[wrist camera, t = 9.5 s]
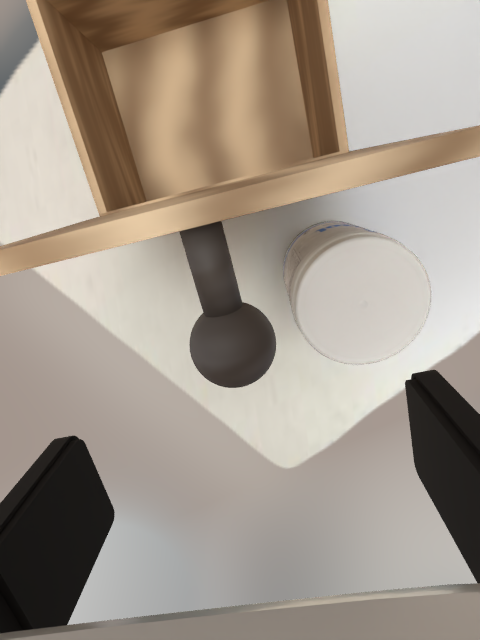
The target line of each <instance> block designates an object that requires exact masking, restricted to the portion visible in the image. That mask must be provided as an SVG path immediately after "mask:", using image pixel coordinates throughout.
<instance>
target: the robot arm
mask: <svg viewBox="0 0 480 640" xmlns="http://www.w3.org/2000/svg"><path fill="white" fill-rule="evenodd" d="M405 387H406V396H407V404H408V413H409V421H410V430H411V439H412V447H413V455H414V463H415V467H416V470H417V473H418V476H419V478H420V479H421V481H422V483H423V484H424V487H425V489H426V490H427V492H428V494H429V496H430V498H431V499H432V501H433V503H434V505H435V507H436V508H437V510H438V512H439V514H440V516H441V518H442V519H443V521H444V523H445V524H446V527H447V528H448V530H449V532H450V534H451V535H452V537H453V539H454V541H455V543H456V545H457V546H458V548H459V550H460V552H461V554H462V555H463V557H464V559H465V561H466V563H467V564H468V566H469V568H470V570H471V572H472V574H473V575H474V577H475V579H476V581H477V583H478V584H457V585H456V584H454V585H439V586H428V587H417V588H405V589H394V590H383V591H372V592H361V593H351V594H342V595H333V596H323V597H315V598H305V599H295V600H286V601H277V602H267V603H257V604H249V605H239V606H230V607H221V608H212V609H204V610H195V611H185V612H177V613H168V614H159V615H150V616H142V617H134V618H124V619H115V620H107V621H99V622H91V623H82V624H73V625H67V624H68V622H69V620H70V617H71V615H72V613H73V611H74V608H75V606H76V604H77V601H78V599H79V597H80V595H81V593H82V591H83V588H84V586H85V584H86V582H87V579H88V577H89V575H90V573H91V570H92V568H93V566H94V564H95V561H96V559H97V557H98V555H99V552H100V550H101V548H102V546H103V544H104V541H105V539H106V537H107V535H108V533H109V530H110V528H111V526H112V523H113V521H114V509H113V506H112V504H111V501H110V499H109V497H108V495H107V492H106V490H105V488H104V485H103V483H102V481H101V479H100V477H99V474H98V472H97V470H96V467H95V465H94V463H93V460H92V458H91V456H90V454H89V451H88V449H87V447H86V444H85V443H84V441H83V440H81V439H79V438H78V437H76V436H69V437H63V438H58V439H54V440H53V441H52V442H51V443H50V445H49V446H48V447H47V448H46V450H45V451H44V452H43V453H42V454H41V455H40V457H39V458H38V459H37V460H36V461H35V463H34V464H33V465H32V466H31V468H30V469H29V470H28V471H27V472H26V473H25V474H24V476H23V477H22V478H21V479H20V481H19V482H18V483H17V484H16V485H15V486H14V488H13V489H12V490H11V491H10V492H9V494H8V495H7V496H6V497H5V498H4V500H3V501H2V502H1V503H0V640H480V414H479V413H478V412H476V411H475V409H474V408H473V407H472V406H471V405H470V404H469V403H468V402H467V401H466V400H465V399H464V398H463V397H462V396H461V395H460V394H459V393H458V392H457V391H456V390H455V389H454V388H453V387H452V386H451V385H450V384H449V383H448V382H447V381H446V380H445V379H444V378H443V377H442V376H441V375H440V374H439V373H438V372H437V371H436V370H430V371H424V372H419V373H413V374H412V377H411V380H406V382H405Z"/></svg>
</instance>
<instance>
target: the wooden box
mask: <svg viewBox="0 0 480 640" xmlns="http://www.w3.org/2000/svg"><path fill="white" fill-rule="evenodd" d="M26 2H27V5H28V8H29V10H30V13H31V16H32V19H33V22H34V25H35V28H36V31H37V34H38V37H39V40H40V43H41V46H42V49H43V51H44V54H45V57H46V60H47V63H48V66H49V69H50V72H51V75H52V78H53V81H54V84H55V87H56V89H57V92H58V95H59V98H60V101H61V104H62V107H63V110H64V113H65V116H66V119H67V122H68V125H69V128H70V130H71V133H72V136H73V139H74V142H75V145H76V148H77V151H78V154H79V157H80V160H81V163H82V166H83V168H84V171H85V174H86V177H87V180H88V183H89V186H90V189H91V192H92V195H93V198H94V201H95V204H96V206H97V209H98V212H99V215H100V217H101V216H104V215H108V214H112V213H116V212H120V211H124V210H127V209H131V208H135V207H139V206H143V205H147V204H151V203H154V202H158V201H162V200H166V199H170V198H174V197H177V196H181V195H185V194H189V193H193V192H197V191H201V190H204V189H208V188H212V187H216V186H220V185H224V184H227V183H231V182H235V181H239V180H243V179H247V178H250V177H254V176H258V175H262V174H266V173H270V172H274V171H277V170H281V169H285V168H289V167H293V166H297V165H300V164H304V163H308V162H312V161H316V160H320V159H324V158H327V157H331V156H335V155H339V154H343V153H347V152H349V148H348V141H347V134H346V127H345V120H344V112H343V105H342V98H341V91H340V84H339V77H338V70H337V63H336V56H335V49H334V42H333V35H332V28H331V21H330V14H329V7H328V0H26Z"/></svg>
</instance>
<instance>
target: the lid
mask: <svg viewBox="0 0 480 640" xmlns="http://www.w3.org/2000/svg"><path fill="white" fill-rule="evenodd" d="M479 156H480V125H479V126H474V127H469V128H464V129H459V130H454V131H449V132H444V133H439V134H434V135H429V136H424V137H419V138H414V139H409V140H404V141H399V142H394V143H389V144H384V145H379V146H374V147H369V148H364V149H359V150H354V151H350V152H347V153H343V154H339V155H335V156H331V157H327V158H324V159H320V160H316V161H312V162H308V163H304V164H300V165H297V166H293V167H289V168H285V169H281V170H277V171H274V172H270V173H266V174H262V175H258V176H254V177H250V178H247V179H243V180H239V181H235V182H231V183H227V184H224V185H220V186H216V187H212V188H208V189H204V190H201V191H197V192H193V193H189V194H185V195H181V196H177V197H174V198H170V199H166V200H162V201H158V202H154V203H151V204H147V205H143V206H139V207H135V208H131V209H127V210H124V211H120V212H116V213H112V214H108V215H104V216H101V217H97V218H93V219H90V220H86V221H83V222H80V223H76V224H73V225H70V226H67V227H63V228H60V229H57V230H53V231H50V232H47V233H43V234H40V235H37V236H33V237H30V238H27V239H23V240H20V241H17V242H13V243H10V244H7V245H3V246H0V276H2V275H5V274H10V273H14V272H18V271H22V270H26V269H30V268H34V267H38V266H42V265H46V264H50V263H54V262H58V261H62V260H66V259H70V258H74V257H78V256H82V255H86V254H90V253H94V252H98V251H102V250H106V249H110V248H114V247H118V246H122V245H126V244H130V243H134V242H138V241H142V240H146V239H150V238H154V237H158V236H162V235H166V234H170V233H174V232H178V231H179V232H180V235H181V238H182V242H183V245H184V248H185V252H186V255H187V259H188V262H189V265H190V269H191V272H192V275H193V279H194V282H195V285H196V289H197V292H198V295H199V299H200V302H201V306H202V309H203V312H204V313H203V314H202V315H201V316H200V317H199V318H198V320H197V321H196V323H195V325H194V327H193V329H192V332H191V337H190V353H191V357H192V360H193V362H194V364H195V366H196V368H197V369H198V371H199V372H200V373H201V374H202V375H203V376H204V377H205V378H206V379H208V380H209V381H211V382H212V383H214V384H217V385H219V386H223V387H228V388H237V387H243V386H247V385H249V384H251V383H253V382H255V381H257V380H258V379H259V378H261V377H262V376H263V375H264V374H265V373H266V371H267V370H268V369H269V367H270V366H271V364H272V361H273V359H274V356H275V351H276V338H275V333H274V330H273V327H272V325H271V323H270V322H269V320H268V319H267V317H266V316H265V315H264V314H263V313H262V312H261V311H260V310H258V309H257V308H255V307H254V306H252V305H249V304H247V303H243V302H242V301H241V297H240V293H239V289H238V285H237V281H236V277H235V273H234V269H233V265H232V261H231V257H230V254H229V250H228V246H227V242H226V238H225V234H224V230H223V226H222V222H221V221H222V220H226V219H230V218H234V217H238V216H242V215H247V214H251V213H255V212H259V211H263V210H267V209H271V208H275V207H279V206H283V205H287V204H291V203H295V202H299V201H303V200H307V199H311V198H315V197H319V196H323V195H327V194H331V193H335V192H339V191H343V190H347V189H351V188H355V187H359V186H363V185H367V184H371V183H375V182H379V181H383V180H387V179H391V178H395V177H399V176H403V175H407V174H411V173H415V172H419V171H423V170H427V169H431V168H435V167H439V166H443V165H447V164H451V163H455V162H459V161H463V160H467V159H471V158H475V157H479Z"/></svg>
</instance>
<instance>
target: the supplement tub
mask: <svg viewBox="0 0 480 640" xmlns="http://www.w3.org/2000/svg"><path fill="white" fill-rule="evenodd" d="M283 275H284V280H285V284H286V288H287V292H288V296H289V299H290V303H291V307H292V311H293V314H294V317H295V321H296V323H297V325H298V327H299V329H300V331H301V332H302V334H303V335H304V337H305V338H306V340H307V341H308V342H309V343H310V345H311V346H312V347H313V348H314V349H316V350H317V351H318V352H319V353H321V354H322V355H324V356H326V357H328V358H330V359H332V360H334V361H338V362H341V363H346V364H356V365H357V364H370V363H374V362H378V361H381V360H384V359H387V358H389V357H391V356H393V355H395V354H396V353H398V352H400V351H401V350H402V349H404V348H405V347H406V346H407V345H408V344H409V343H410V342H411V341H413V339H414V338H415V337H416V336H417V334H418V333H419V332H420V330H421V329H422V327H423V325H424V323H425V321H426V318H427V316H428V313H429V309H430V303H431V287H430V282H429V278H428V275H427V273H426V270H425V268H424V267H423V265H422V263H421V262H420V260H419V259H418V258H417V257H416V256H415V255H414V254H413V253H412V252H411V251H410V250H409V249H407V248H406V247H405V246H404V245H402V244H401V243H400V242H398V241H396V240H395V239H392V238H390V237H388V236H385V235H382V234H380V233H377V232H374V231H370V230H367V229H364V228H361V227H358V226H354V225H351V224H348V223H344V222H338V221H329V222H323V223H319V224H316V225H313V226H311V227H309V228H307V229H305V230H304V231H303V232H301V233H300V234H299V235H298V236H297V237H296V238H295V239H294V240H293V242H292V243H291V245H290V246H289V248H288V250H287V252H286V255H285V259H284V264H283Z"/></svg>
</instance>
